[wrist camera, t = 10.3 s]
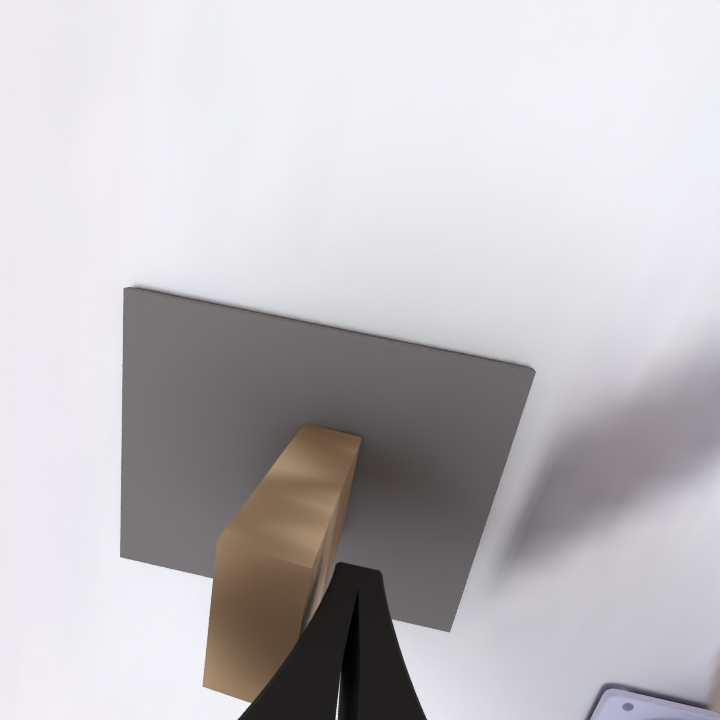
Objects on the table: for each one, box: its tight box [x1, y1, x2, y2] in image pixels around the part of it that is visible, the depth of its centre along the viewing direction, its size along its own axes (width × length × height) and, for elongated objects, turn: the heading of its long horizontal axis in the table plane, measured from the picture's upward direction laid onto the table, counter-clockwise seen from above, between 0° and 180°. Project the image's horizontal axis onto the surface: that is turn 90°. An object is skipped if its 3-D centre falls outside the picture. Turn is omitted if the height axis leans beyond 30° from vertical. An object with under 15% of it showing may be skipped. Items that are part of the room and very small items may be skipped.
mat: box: [120, 287, 536, 632], centre depth 17 cm, size 16×13×1 cm
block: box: [203, 423, 362, 703], centre depth 14 cm, size 2×5×7 cm, turn 170°
